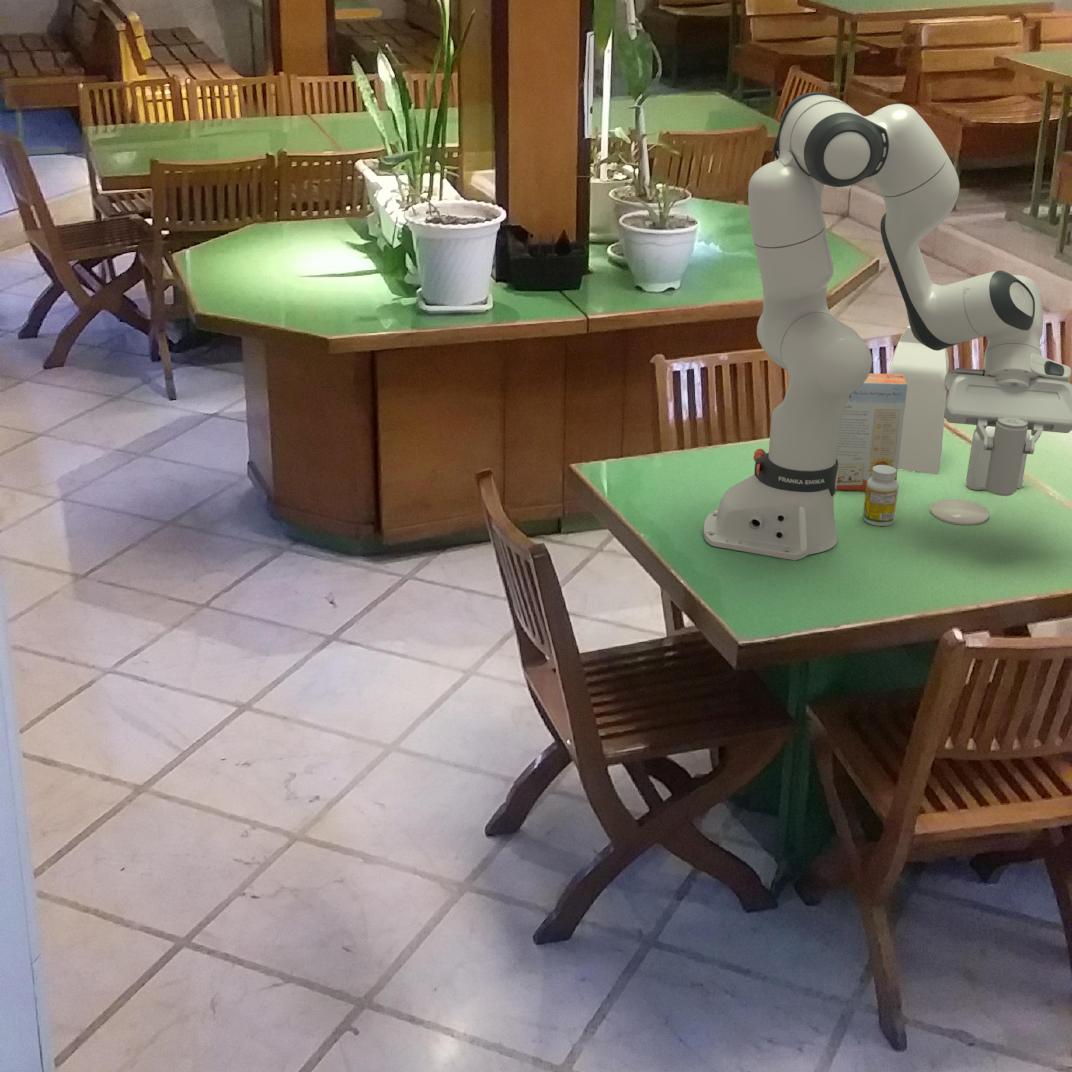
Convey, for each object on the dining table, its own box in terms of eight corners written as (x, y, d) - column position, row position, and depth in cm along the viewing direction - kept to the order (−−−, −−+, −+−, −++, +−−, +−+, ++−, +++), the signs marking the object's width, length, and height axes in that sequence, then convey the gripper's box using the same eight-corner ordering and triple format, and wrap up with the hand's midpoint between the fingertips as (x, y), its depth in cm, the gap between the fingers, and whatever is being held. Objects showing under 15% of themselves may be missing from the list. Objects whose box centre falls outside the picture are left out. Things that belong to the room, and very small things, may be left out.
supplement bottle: (888, 529, 249) (894, 477, 245) (858, 522, 252) (863, 471, 247) (898, 518, 253) (904, 467, 249) (868, 511, 256) (874, 461, 252)
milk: (872, 466, 275) (888, 333, 264) (878, 445, 285) (893, 316, 274) (938, 474, 272) (956, 340, 261) (941, 452, 282) (959, 322, 271)
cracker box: (891, 480, 269) (904, 372, 260) (895, 493, 263) (909, 383, 254) (814, 477, 270) (825, 369, 261) (817, 490, 264) (827, 380, 255)
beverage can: (1017, 498, 231) (1030, 427, 226) (985, 495, 232) (998, 424, 227) (1014, 487, 235) (1027, 417, 230) (983, 484, 236) (995, 414, 231)
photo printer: (1015, 480, 269) (1025, 417, 264) (1025, 489, 265) (1035, 425, 260) (961, 483, 268) (971, 419, 263) (971, 492, 264) (980, 428, 259)
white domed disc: (931, 522, 252) (931, 519, 251) (928, 499, 261) (929, 496, 260) (991, 527, 250) (991, 524, 250) (986, 504, 259) (986, 501, 259)
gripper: (948, 358, 233) (943, 436, 229) (1081, 368, 230) (1079, 448, 225) (942, 376, 239) (937, 452, 234) (1072, 386, 236) (1070, 464, 231)
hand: (1008, 450), depth 230 cm, fingers closed on beverage can, 5 cm apart
